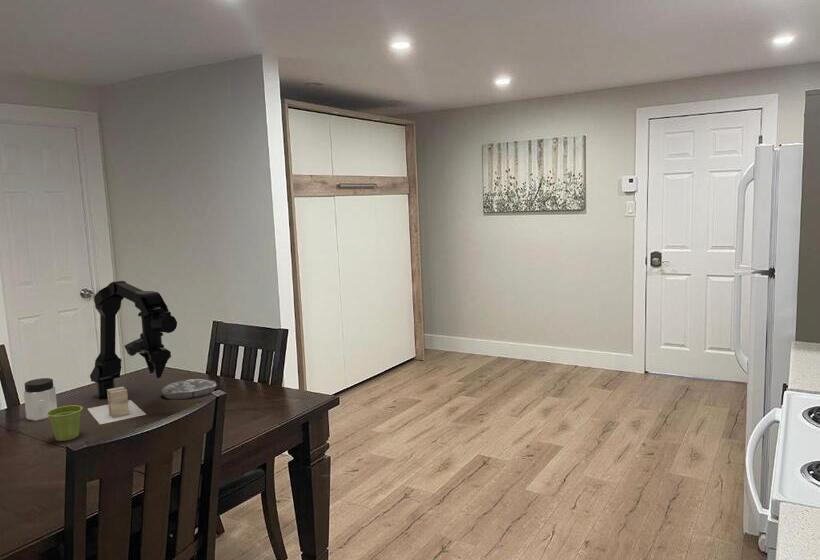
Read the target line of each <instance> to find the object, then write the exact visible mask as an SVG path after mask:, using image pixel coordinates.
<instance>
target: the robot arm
mask: <svg viewBox="0 0 820 560" xmlns="http://www.w3.org/2000/svg"><path fill="white" fill-rule="evenodd" d="M124 299H126V300H128V301H130V302H133V303H134V307H136V309H138V310H139V311H140V312H139V313H138V314H137V316H138V317H141V329H142V332H141V333H140V335H139V336H140V337H139V338H136V339H135V340H132V341H131V342H129V343H127V344H125V345H124V349H125V350H126V352H127V354H128V355H130V357H132V356H135V355H136V354H137V353H138V355H140V356H141V357H143V358H144V360H145V362H146V365H147V368H148V371H149V374H154V373H155V376H156V378H157V379H160V378H161V377H162V375H163V372H164V370H165V367H166V365H167V363H168V361H169V360H170V358H172V353H171V350H169V349H167V348H166V347H165V345H164V344H163V341H162V337H163V336H164V333H166V334H171V333H174V332H175V331H176V329H177V325H178V320H176V318H175V316H174V315H172V313H171V311H169V307H168V305H167V304H166V302H165V300H164V299H163V297H162V295H161V294H160V292H158V291H153V290H142V289H141V288H138V287H136V286H134V285H131V284H129V283H127V281H125V280H118V281H117V280H116V281H112V282H110V283H109V284H108V285H107V286H105V287H103V288H102V289H100V290H98V291H97V293H95V295H94V297H93V302H94V305H95V306H94V307H95V309H96V311H97V312H98V313H99V317H100V324H99V325H100V326H99V331H100V337H99V341H100V343H99V346H100V347H99V351H100V352H99V354H98V355H97V357H96V358H95V360H94V366H93V369H92V371H91V373H90V375H89V378H90V380H91V382H93V383H97V393H95V396H96V397H97V398H98V399H99V400H101V399H108V395H107V390H108V389H113V388H116V382H115V380H116V379H117V378H118V379H119V378H120V377H121V372H122V371H121V370H122V358H120V357H119V356H118V355H117V353H116V335H117V333H116V327H117V326H116V320H117V319H116V317H117V316H116V315H117V314H118V312H120V311H119V310H120V309H121V308H122V301H123V300H124Z"/></svg>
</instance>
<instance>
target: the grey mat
mask: <svg viewBox="0 0 820 560" xmlns="http://www.w3.org/2000/svg"><path fill="white" fill-rule="evenodd" d="M128 408H129V415H126V416H121V417H116V418H112V417H111V416H110V415H109V406H108V404H104V405H100V406H99V405H98V406H93V407H89V408H87V410H88V412H89V413H90V414H91V415H92V417H93V418H94V419H95V420H96V421H97V423H98V425H104V424H109V423H114V422H119V421H123V420H127V419H133V418H137V417H141V416H146V415H147V413H145V411H144V410H142V409H141V408H140V407H139V406H138V405H137V404H136V403H135V402H133V401H132V400H131V399H128Z"/></svg>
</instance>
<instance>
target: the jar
mask: <svg viewBox="0 0 820 560" xmlns="http://www.w3.org/2000/svg"><path fill="white" fill-rule="evenodd" d="M23 396H24V397H23V399H24V400H23V401H24V406H25V407H24V408H25V418H26V420H29V421H35V422H36V421H43V420H45V419H47V418H48V419H49V417H48V416H47V414H46V413H47V412H48V411H50V410H52V409H55V408H58V403H57V393H56V386H54V380H53V378H49V377H45V378H44V377H43V378H35V379H31V380H28V381H26V382H25V383H24V391H23Z"/></svg>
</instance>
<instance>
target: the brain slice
mask: <svg viewBox="0 0 820 560" xmlns="http://www.w3.org/2000/svg"><path fill="white" fill-rule="evenodd" d="M216 388H217V383H216V381H215V380H208V379H204V378H203V379H201V378H200V379H199V378H194V379H193V378H192V379H189V378H188V379H186V380H181V381H180V380H179V381H178V380H177V381H173V382H171V383H168V384H166V385H164V387H163V388H161V389H160V393H161V395H162V396H163V397H165V398H166V399H168V400H174V399H176V400H186V399H192V398H199V397H203V396H206V395H210V394H211V393H210V392H211V391H213V392H214V391H215V390H216ZM209 393H210V394H209Z"/></svg>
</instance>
